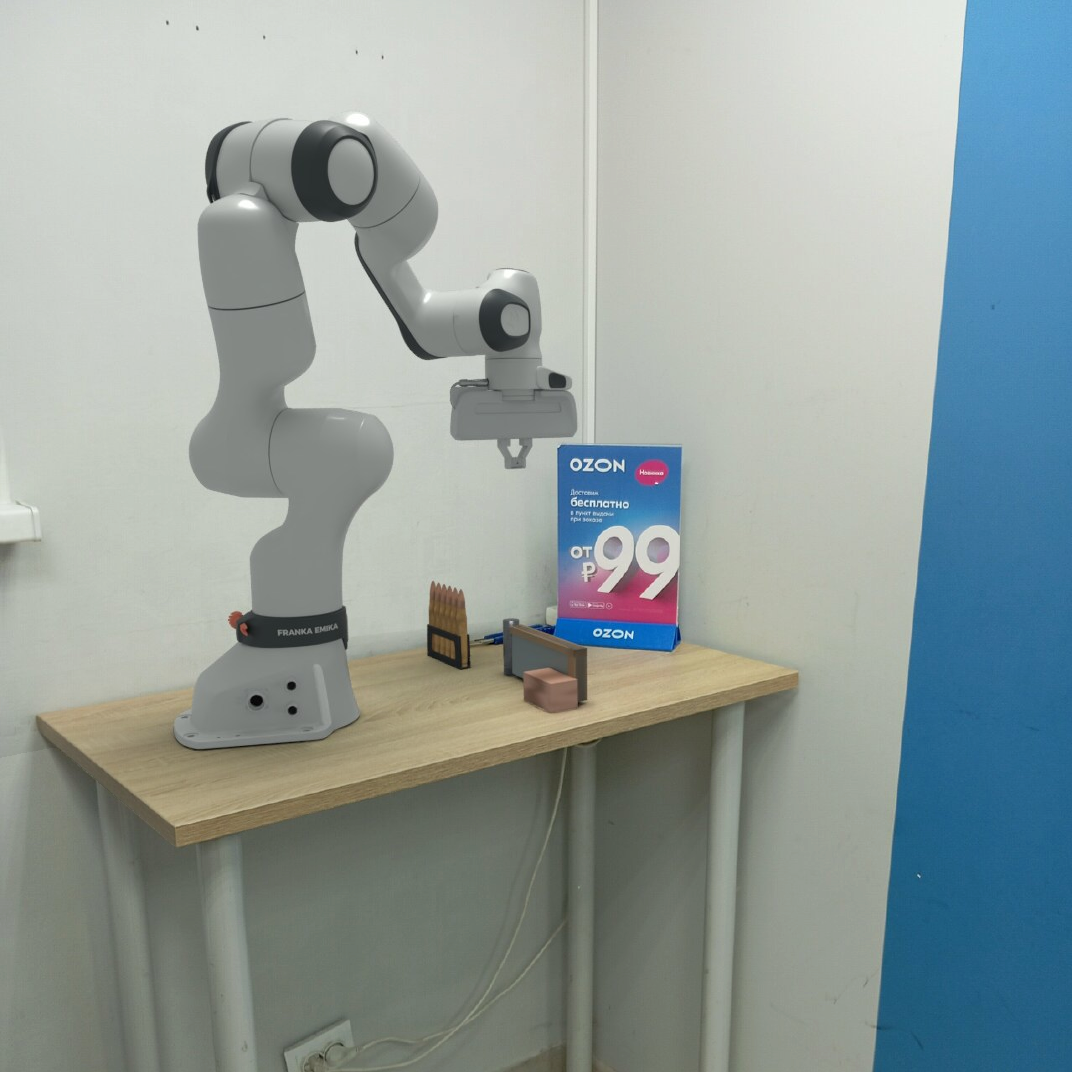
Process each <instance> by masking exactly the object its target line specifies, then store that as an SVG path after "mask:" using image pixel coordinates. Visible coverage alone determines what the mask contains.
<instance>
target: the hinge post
mask: <svg viewBox="0 0 1072 1072" xmlns="http://www.w3.org/2000/svg"><path fill="white" fill-rule="evenodd" d="M516 625H520V619H519V618H513V617H512V618H504V619H502V639H503V640H502V641H503V643H502V644H503V645H502V647H503V648H502V651H503V652H502V653H503V654H502V655H503V675H504V676H506V677H517V675H515V674H513V673H512V634H511V633H510V626H516Z"/></svg>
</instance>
